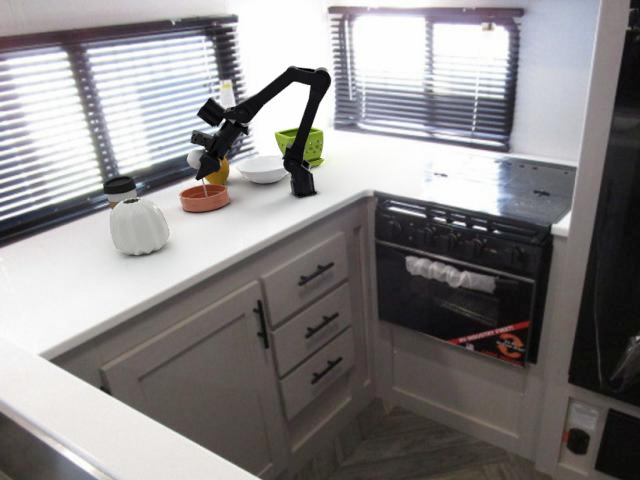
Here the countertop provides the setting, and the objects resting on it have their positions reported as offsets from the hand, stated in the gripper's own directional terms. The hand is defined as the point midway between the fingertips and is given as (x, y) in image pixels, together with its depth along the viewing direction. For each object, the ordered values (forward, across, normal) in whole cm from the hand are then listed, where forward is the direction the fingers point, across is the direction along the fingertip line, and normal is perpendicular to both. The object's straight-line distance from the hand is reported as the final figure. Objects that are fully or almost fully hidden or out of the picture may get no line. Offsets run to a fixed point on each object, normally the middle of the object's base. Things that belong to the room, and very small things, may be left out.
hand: (197, 177), depth 177 cm
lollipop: (+4, 0, +6) cm, 7 cm away
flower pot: (-17, -31, +30) cm, 46 cm away
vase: (+14, +33, -2) cm, 36 cm away
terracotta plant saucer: (+5, +2, +7) cm, 9 cm away
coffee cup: (+19, +18, -6) cm, 27 cm away
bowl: (-8, -16, +20) cm, 27 cm away
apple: (+4, -20, +8) cm, 22 cm away
